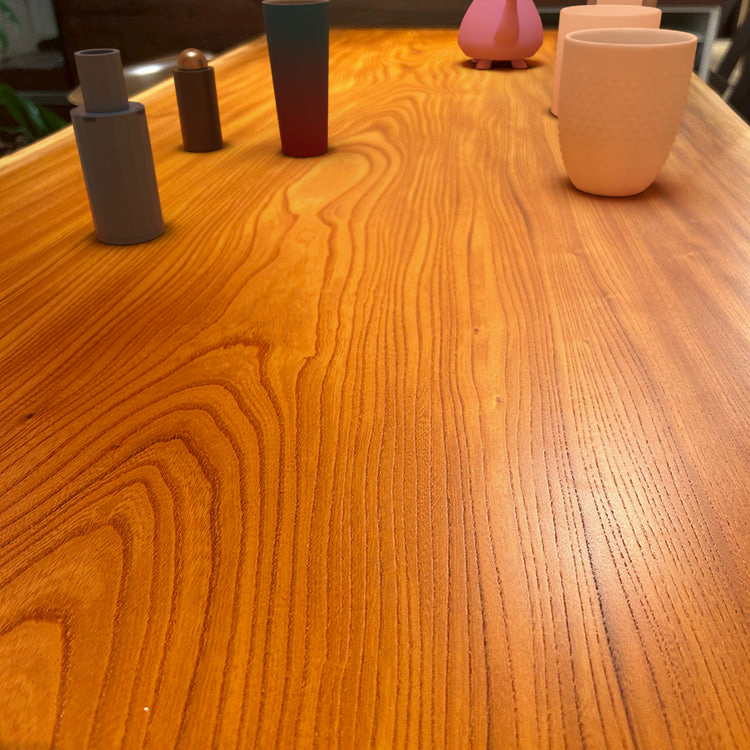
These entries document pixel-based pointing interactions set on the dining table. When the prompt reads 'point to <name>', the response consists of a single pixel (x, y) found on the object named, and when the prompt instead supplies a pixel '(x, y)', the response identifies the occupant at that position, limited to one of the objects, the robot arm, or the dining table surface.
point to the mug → (621, 105)
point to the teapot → (500, 32)
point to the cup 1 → (299, 72)
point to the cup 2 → (598, 19)
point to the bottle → (115, 153)
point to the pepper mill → (197, 102)
